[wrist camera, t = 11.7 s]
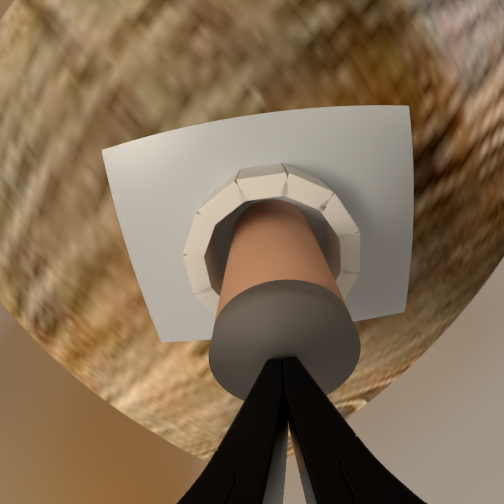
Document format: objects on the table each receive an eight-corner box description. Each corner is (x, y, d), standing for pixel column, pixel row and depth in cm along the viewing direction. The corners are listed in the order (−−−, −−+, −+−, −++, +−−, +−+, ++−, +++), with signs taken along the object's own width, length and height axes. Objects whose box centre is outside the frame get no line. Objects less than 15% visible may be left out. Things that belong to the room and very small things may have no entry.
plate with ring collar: (402, 106, 14) (440, 104, 11) (401, 305, 20) (424, 342, 16) (107, 148, 16) (69, 158, 12) (163, 335, 22) (148, 375, 18)
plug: (305, 194, 16) (364, 287, 7) (312, 265, 18) (355, 395, 9) (227, 205, 17) (190, 310, 7) (240, 274, 18) (226, 411, 9)
